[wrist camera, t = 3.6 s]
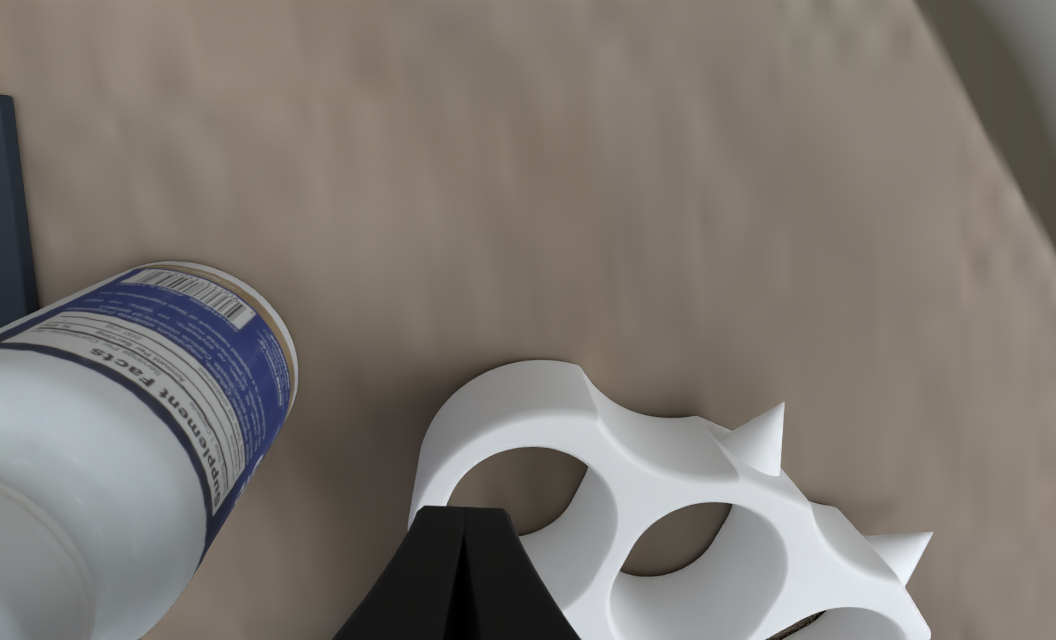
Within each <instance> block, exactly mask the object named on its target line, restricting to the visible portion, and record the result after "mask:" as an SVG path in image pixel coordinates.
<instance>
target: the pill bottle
mask: <svg viewBox="0 0 1056 640" xmlns="http://www.w3.org/2000/svg"><path fill="white" fill-rule="evenodd" d="M297 386H298V361H297V356H296V351H295V348H294V344H293V341H292V339H291V336H290V334H289V332H288V330H287V328H286V326H285V324H284V323H283V321H282V319H281V318H280V316H279V315H278V314H277V312H276V311H275V310H274V309H273V308H272V306H271V305H270V304H269V303H268V302H267V301H266V300H265V299H264V298H263V297H262V296H261V295H260V294H259V293H258V292H257V291H255V290H254V289H253V288H252V287H250V286H249V285H247V284H245V283H244V282H242V281H241V280H239V279H237V278H235V277H234V276H232V275H230V274H227V273H225V272H223V271H220V270H218V269H215V268H211V267H208V266H205V265H200V264H196V263H190V262H178V261H162V262H155V263H150V264H145V265H142V266H138V267H135V268H132V269H130V270H127V271H125V272H122V273H120V274H117V275H115V276H113V277H110V278H108V279H105V280H103V281H101V282H99V283H97V284H95V285H92V286H89V287H87V288H85V289H83V290H81V291H79V292H76V293H74V294H72V295H70V296H68V297H65V298H63V299H61V300H59V301H57V302H55V303H53V304H51V305H48V306H46V307H44V308H42V309H40V310H38V311H36V312H34V313H32V314H30V315H28V316H25V317H23V318H21V319H18V320H16V321H14V322H12V323H10V324H8V325H6V326H4V327H2V328H0V640H137V639H139V638H140V637H142V636H143V635H144V634H145V633H147V632H148V631H149V630H150V629H151V628H152V627H153V626H154V625H155V624H156V623H157V622H158V621H159V620H160V619H161V618H162V617H163V616H164V615H165V614H166V613H167V612H168V610H169V609H170V608H171V607H172V606H173V604H174V603H175V601H176V600H177V599H178V597H179V596H180V594H181V593H182V592H183V591H184V589H185V588H186V586H187V585H188V583H189V582H190V580H191V579H192V577H193V575H194V573H195V572H196V570H197V569H198V567H199V565H200V564H201V562H202V560H203V558H204V556H205V554H206V552H207V550H208V549H209V547H210V545H211V543H212V542H213V540H214V538H215V537H216V535H217V534H218V532H219V530H220V529H221V527H222V526H223V524H224V522H225V521H226V519H227V517H228V516H229V514H230V513H231V511H232V509H233V507H234V506H235V504H236V503H237V501H238V499H239V498H240V496H241V495H242V493H243V491H244V490H245V488H246V486H247V485H248V483H249V481H250V480H251V478H252V477H253V475H254V473H255V472H256V470H257V468H258V466H259V465H260V463H261V461H262V460H263V458H264V456H265V454H266V453H267V451H268V450H269V448H270V447H271V445H272V443H273V442H274V440H275V438H276V437H277V435H278V433H279V432H280V430H281V428H282V426H283V424H284V423H285V421H286V419H287V417H288V415H289V413H290V411H291V408H292V406H293V403H294V400H295V396H296V393H297Z"/></svg>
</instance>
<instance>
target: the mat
mask: <svg viewBox="0 0 1056 640" xmlns="http://www.w3.org/2000/svg"><path fill="white" fill-rule="evenodd" d="M38 310H39V309H38V301H37V293H36V285H35V277H34V269H33V260H32V252H31V244H30V236H29V228H28V220H27V212H26V204H25V195H24V187H23V179H22V171H21V163H20V155H19V147H18V139H17V131H16V122H15V114H14V106H13V99H12V97H11V96H7V95H0V328H2V327H4V326H6V325H8V324H10V323H12V322H14V321H16V320H18V319H21V318H23V317H25V316H28V315H30V314H32V313H34V312H36V311H38Z"/></svg>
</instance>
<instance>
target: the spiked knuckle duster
mask: <svg viewBox="0 0 1056 640" xmlns="http://www.w3.org/2000/svg"><path fill="white" fill-rule="evenodd" d="M784 402H785V401H784ZM784 402H783V403H781V404H779V405H777V406H775V407H774V408H772V409H770V410H768V411H766V412H765V413H763V414H761V415H759V416H758V417H756V418H754V419H752V420H750V421H749V422H747V423H745V424H743V425H742V426H740V427H738V428H736V429H734V430H733V431H731V430H729V429H727V428H724V427H722V426H720V425H717V424H715V423H713V422H710V421H708V420H706V419H703V418H701V417H699V416H690V417H683V418H660V417H652V416H647V415H643V414H639V413H636V412H633V411H631V410H628V409H626V408H624V407H622V406H620V405H618V404H616V403H615V402H613V401H611V400H610V399H609V398H607V397H606V396H605V395H603V394H602V393H601V392H600V391H599V390H598V389H597V388H596V387H595V386H594V385H593V384H592V383H591V381H590V380H589V379H588V377H587V376H586V375H585V373H584V372H583V370H582V368H581V367H580V366H579V365H576V364H572V363H567V362H562V361H554V360H529V361H521V362H516V363H511V364H507V365H504V366H501V367H498V368H495V369H492V370H490V371H488V372H486V373H484V374H482V375H480V376H478V377H476V378H474V379H473V380H471V381H470V382H468V383H467V384H465V385H464V386H463V387H461V388H460V389H459V390H458V391H456V392H455V393H454V394H453V395H452V396H451V397H450V398H449V399H448V400H447V401H446V402H445V404H444V405H443V406H442V407H441V408H440V410H439V411H438V412H437V414H436V415H435V417H434V419H433V420H432V422H431V424H430V426H429V428H428V430H427V432H426V435H425V437H424V440H423V443H422V446H421V450H420V455H419V461H418V467H417V472H416V478H415V484H414V490H413V496H412V502H411V508H410V513H409V520H408V531H409V529H410V527H411V525H412V522H413V520H414V518H415V515H416V512H417V511H418V510H419V509H421V508H422V507H423V506H424V505H431V506H447V505H446V504H447V502H448V500H449V498H450V496H451V493H452V491H453V489H454V488H455V486H456V485H457V483H458V482H459V480H460V479H461V478H462V477H463V476H464V475H465V473H466V472H468V471H469V470H470V469H471V468H472V467H473V466H475V465H476V464H477V463H479V462H480V461H482V460H484V459H485V458H487V457H489V456H491V455H494V454H496V453H499V452H502V451H505V450H509V449H513V448H519V447H545V448H551V449H556V450H559V451H562V452H565V453H568V454H570V455H572V456H574V457H576V458H578V459H579V460H581V461H582V462H584V463H585V464H586V465H587V466H588V469H587V472H586V474H585V476H584V478H583V480H582V482H581V484H580V486H579V488H578V490H577V492H576V494H575V496H574V498H573V500H572V501H571V503H570V505H569V506H568V508H567V509H566V510H565V512H564V513H563V514H562V515H561V516H560V517H559V518H558V519H556V520H555V521H554V522H553V523H551V524H550V525H548V526H547V527H545V528H543V529H541V530H539V531H537V532H534V533H531V534H528V535H523V536H518V537H519V539H520V541H521V543H522V545H523V547H524V549H525V551H526V553H527V554H528V556H529V558H530V560H531V562H532V564H533V566H534V567H535V569H536V571H537V573H538V574H539V576H540V578H541V579H542V581H543V583H544V584H545V586H546V588H547V589H548V591H549V592H550V594H551V596H552V597H553V599H554V601H555V602H556V604H557V605H558V607H559V608H560V610H561V611H562V613H563V614H564V616H565V617H566V619H567V620H568V622H569V623H570V624H571V626H572V627H573V629H574V630H575V631H576V633H577V634H578V636H579V637H580V638H581V640H766V639H767V638H769V637H770V636H772V635H774V634H776V633H778V632H779V631H781V630H783V629H785V628H787V627H789V626H791V625H792V624H794V623H796V622H798V621H800V620H802V619H803V618H806V617H808V616H810V615H812V614H815V613H818V612H821V611H824V610H826V611H825V612H824V613H823V614H822V615H821V616H820V617H819V618H818V619H817V620H815V621H814V622H813V623H811V624H809V625H808V626H806V627H804V628H802V629H800V630H799V631H797V632H795V633H793V634H791V635H789V636H788V637H786V638H784V639H782V640H930V637H931V631H930V629H929V627H928V625H927V624H926V622H925V620H924V619H923V617H922V615H921V614H920V612H919V610H918V609H917V607H916V605H915V604H914V602H913V600H912V599H911V597H910V595H909V594H908V592H907V590H906V589H905V585H906V584H907V582H908V580H909V578H910V576H911V574H912V572H913V570H914V568H915V566H916V565H917V563H918V561H919V559H920V557H921V555H922V553H923V551H924V549H925V547H926V546H927V544H928V542H929V540H930V538H931V536H932V534H933V532H922V533H906V534H889V535H872V536H862V535H861V534H860V533H859V532H858V531H857V529H856V528H855V527H854V526H853V525H852V524H851V523H850V522H849V521H848V519H847V518H846V517H845V516H844V515H843V514H842V513H841V512H840V511H839V510H838V509H837V508H836V507H833V506H827V505H821V504H817V503H814V502H811V501H808V500H807V499H806V497H805V496H804V495H803V494H802V493H801V491H800V490H799V489H798V488H797V487H796V486H795V484H794V483H793V482H792V481H791V480H790V478H789V477H788V476H787V475H786V474H785V472H784V471H783V470H782V469H781V468H780V463H781V448H782V433H783V418H784ZM704 502H724V503H730V504H732V507H731V510H730V513H729V515H728V517H727V519H726V520H725V522H724V524H723V525H722V527H721V529H720V531H719V532H718V534H717V536H716V537H715V539H714V541H713V542H712V544H711V545H710V547H709V548H708V549H707V550H706V552H705V553H704V554H703V555H702V556H701V557H699V558H698V559H697V560H696V561H694V562H693V563H692V564H690V565H688V566H687V567H685V568H683V569H681V570H678V571H676V572H673V573H670V574H667V575H662V576H655V577H640V576H633V575H629V574H626V573H623V572H621V571H619V570H620V568H621V567H622V565H623V563H624V561H625V559H626V557H627V556H628V554H629V552H630V550H631V548H632V547H633V545H634V544H635V542H636V541H637V539H638V538H639V537H640V535H641V534H642V533H643V532H644V531H645V530H646V529H647V528H648V527H649V526H650V525H652V524H653V523H654V522H655V521H657V520H658V519H660V518H661V517H663V516H665V515H666V514H668V513H670V512H672V511H674V510H677V509H679V508H682V507H685V506H688V505H692V504H697V503H704Z"/></svg>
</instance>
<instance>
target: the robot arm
mask: <svg viewBox="0 0 1056 640" xmlns="http://www.w3.org/2000/svg"><path fill="white" fill-rule="evenodd" d="M332 640H581V638H580V637H579V636H578V634H577V633H576V631H575V630H574V629H573V627H572V626H571V624H570V623H569V622H568V620H567V619H566V617H565V616H564V614H563V613H562V611H561V610H560V608H559V607H558V605H557V604H556V602H555V601H554V599H553V597H552V596H551V594H550V592H549V591H548V589H547V588H546V586H545V584H544V583H543V581H542V579H541V578H540V576H539V574H538V573H537V571H536V569H535V567H534V566H533V564H532V562H531V560H530V558H529V556H528V554H527V553H526V551H525V549H524V547H523V545H522V543H521V541H520V539H519V537H518V534H517V532H516V530H515V528H514V525H513V523H512V520H511V517H510V515H509V514H508V513H507V512H506V511H505V510H504V509H499V508H476V507H454V506H431V505H424V506H423V507H422V508H421V509H419V510H418V511H417V512H416V515H415V518H414V520H413V522H412V525H411V527H410V529H409V531H408V532H407V534H406V536H405V538H404V540H403V542H402V543H401V545H400V546H399V548H398V550H397V551H396V553H395V555H394V556H393V558H392V560H391V561H390V562H389V564H388V565H387V567H386V568H385V570H384V571H383V573H382V574H381V576H380V577H379V579H378V580H377V582H376V583H375V585H374V586H373V588H372V589H371V590H370V592H369V593H368V594H367V596H366V597H365V598H364V600H363V601H362V602H361V603H360V605H359V606H358V607H357V609H356V610H355V611H354V612H353V614H352V615H351V616H350V617H349V619H348V620H347V621H346V623H345V624H344V625H343V626H342V628H341V629H340V630H339V631H338V633H337V634H336V635H335V636H334V637H333V638H332Z"/></svg>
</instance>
